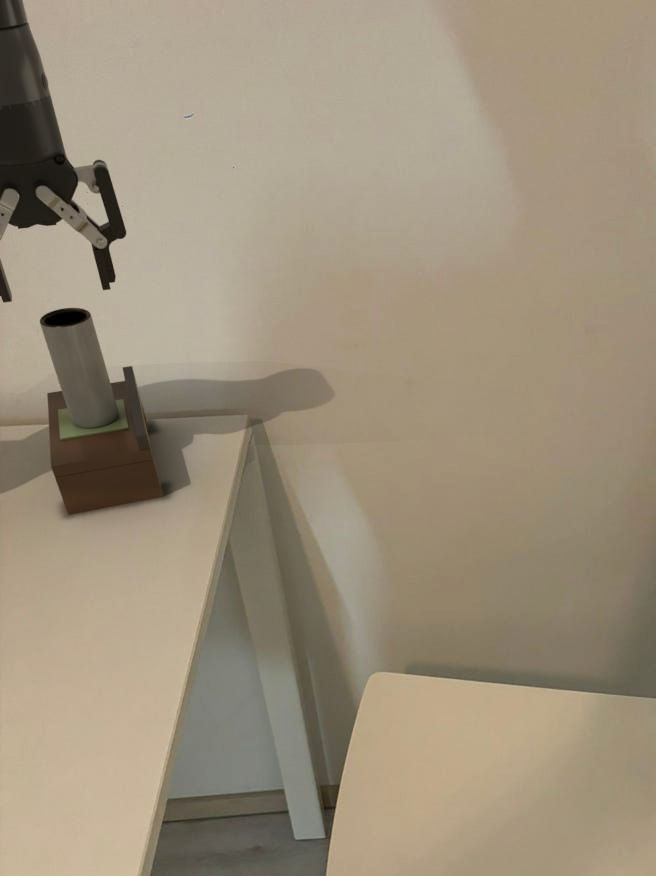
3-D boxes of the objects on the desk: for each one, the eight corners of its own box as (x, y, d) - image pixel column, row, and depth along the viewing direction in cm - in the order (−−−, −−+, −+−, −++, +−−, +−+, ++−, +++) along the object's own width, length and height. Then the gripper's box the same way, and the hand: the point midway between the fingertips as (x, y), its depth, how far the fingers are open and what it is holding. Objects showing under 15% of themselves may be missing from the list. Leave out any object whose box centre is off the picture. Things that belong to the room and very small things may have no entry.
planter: (62, 426, 92) (29, 324, 85) (87, 405, 96) (56, 305, 89) (104, 430, 92) (73, 328, 85) (127, 409, 95) (99, 309, 88)
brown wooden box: (64, 443, 102) (42, 379, 97) (148, 429, 104) (132, 365, 100) (70, 520, 91) (45, 452, 86) (164, 502, 93) (146, 434, 88)
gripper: (89, 76, 79) (134, 270, 90) (-96, 87, 76) (-26, 288, 86) (95, 95, 74) (142, 298, 85) (-104, 108, 70) (-28, 319, 81)
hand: (57, 293), depth 85 cm, fingers open, 8 cm apart
